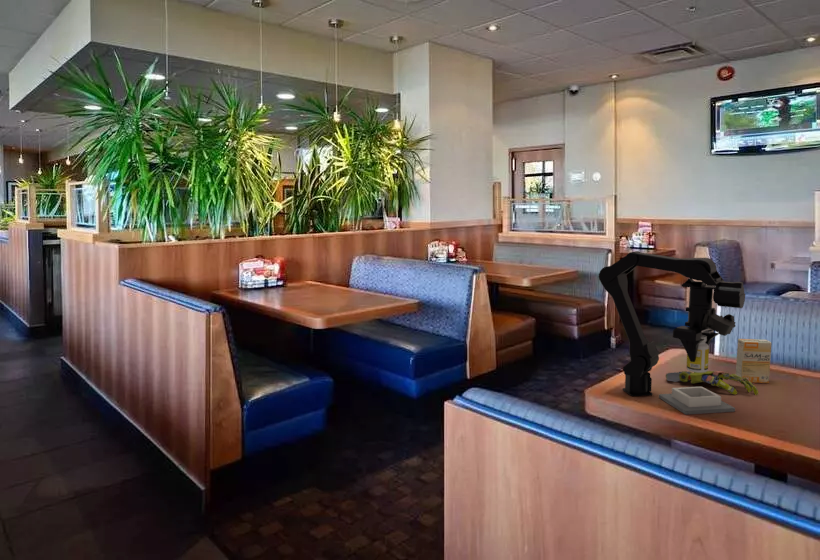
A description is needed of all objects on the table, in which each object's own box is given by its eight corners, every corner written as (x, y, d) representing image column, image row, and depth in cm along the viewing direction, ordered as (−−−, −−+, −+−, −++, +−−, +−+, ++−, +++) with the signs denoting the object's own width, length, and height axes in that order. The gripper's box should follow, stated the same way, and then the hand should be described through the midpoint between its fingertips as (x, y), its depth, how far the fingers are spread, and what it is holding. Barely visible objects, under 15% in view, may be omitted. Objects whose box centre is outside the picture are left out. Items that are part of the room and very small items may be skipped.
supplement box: (740, 383, 184) (743, 341, 183) (735, 378, 189) (737, 338, 187) (769, 383, 183) (772, 342, 181) (763, 379, 188) (765, 338, 186)
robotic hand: (672, 370, 194) (760, 370, 178) (674, 393, 193) (762, 395, 177) (660, 372, 185) (750, 371, 169) (662, 396, 184) (753, 397, 168)
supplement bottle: (701, 367, 168) (703, 333, 167) (711, 372, 162) (713, 337, 161) (682, 367, 168) (684, 333, 166) (692, 373, 162) (694, 338, 161)
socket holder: (685, 414, 159) (686, 401, 158) (658, 397, 173) (659, 385, 172) (735, 411, 160) (735, 399, 160) (704, 394, 174) (704, 383, 174)
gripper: (716, 312, 150) (713, 372, 153) (745, 303, 163) (742, 359, 165) (673, 307, 159) (670, 364, 161) (703, 298, 171) (700, 351, 173)
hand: (697, 359), depth 165 cm, fingers closed on supplement bottle, 5 cm apart
